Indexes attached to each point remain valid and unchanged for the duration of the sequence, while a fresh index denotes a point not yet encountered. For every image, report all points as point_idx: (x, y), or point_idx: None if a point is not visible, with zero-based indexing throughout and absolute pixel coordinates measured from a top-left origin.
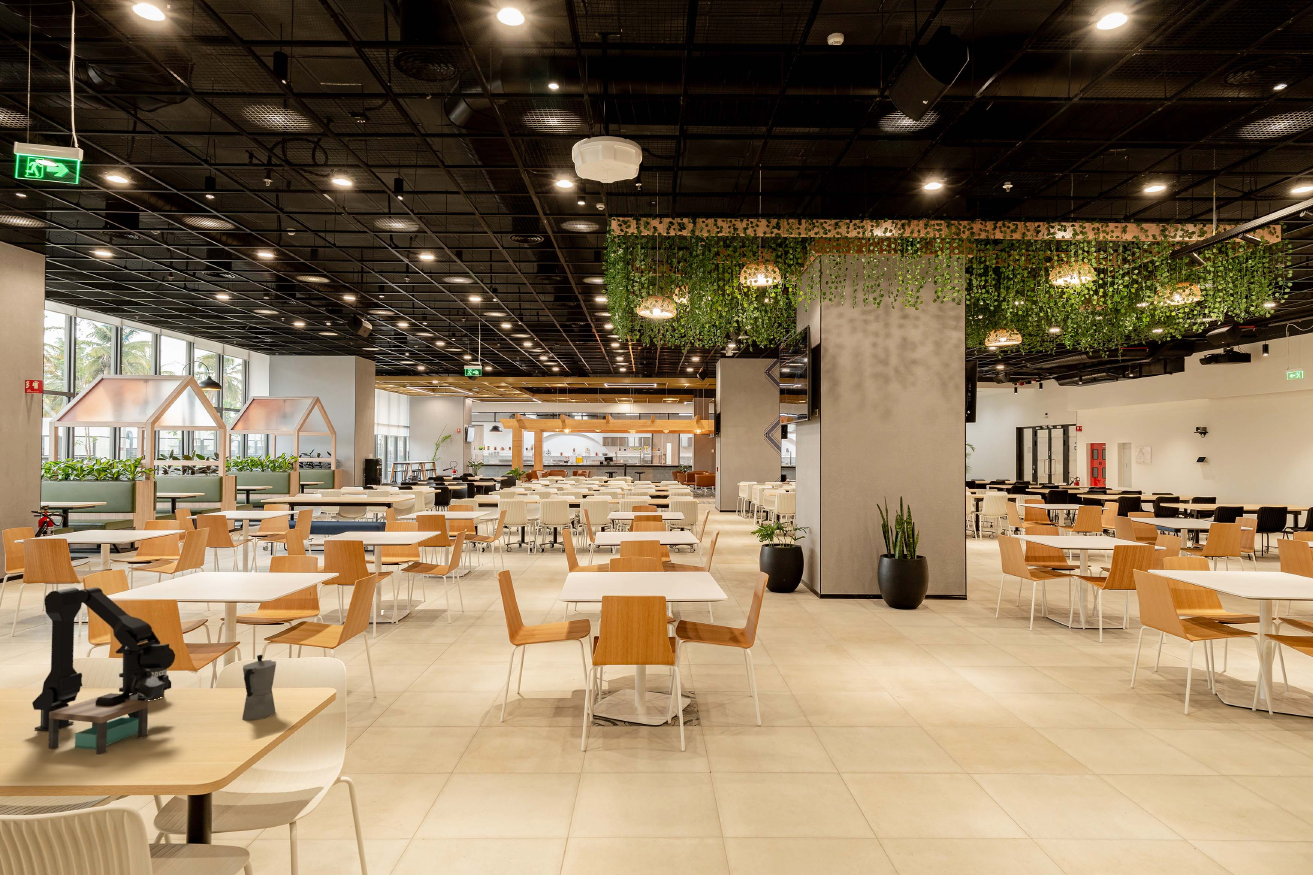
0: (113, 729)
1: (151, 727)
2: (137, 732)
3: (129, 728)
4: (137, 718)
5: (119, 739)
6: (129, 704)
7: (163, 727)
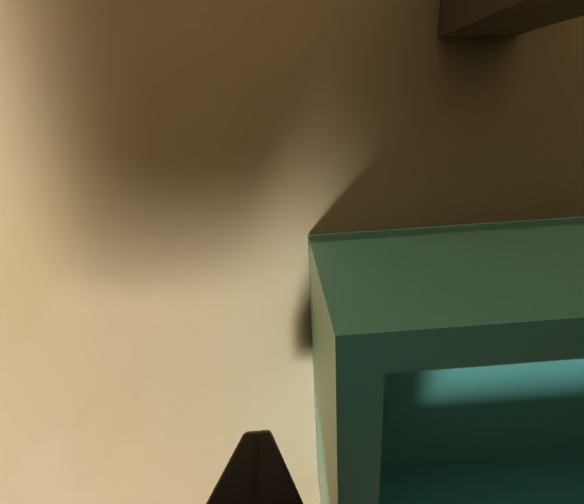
0: None
1: (154, 248)
2: (362, 233)
3: (543, 259)
4: (352, 408)
5: None
6: None
7: (75, 63)
